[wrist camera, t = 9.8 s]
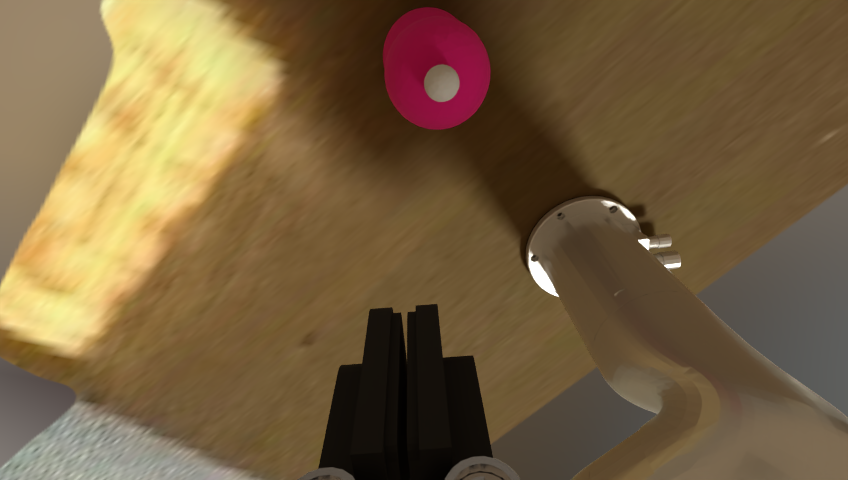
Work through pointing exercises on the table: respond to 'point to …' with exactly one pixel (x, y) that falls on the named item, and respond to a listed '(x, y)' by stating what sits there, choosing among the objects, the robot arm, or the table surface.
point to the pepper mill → (435, 68)
